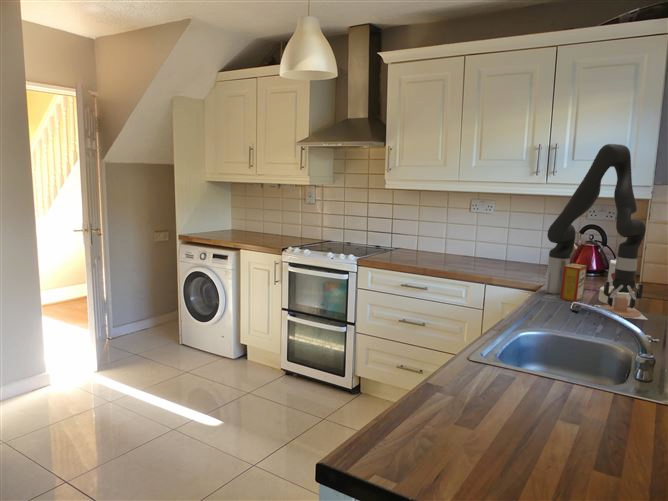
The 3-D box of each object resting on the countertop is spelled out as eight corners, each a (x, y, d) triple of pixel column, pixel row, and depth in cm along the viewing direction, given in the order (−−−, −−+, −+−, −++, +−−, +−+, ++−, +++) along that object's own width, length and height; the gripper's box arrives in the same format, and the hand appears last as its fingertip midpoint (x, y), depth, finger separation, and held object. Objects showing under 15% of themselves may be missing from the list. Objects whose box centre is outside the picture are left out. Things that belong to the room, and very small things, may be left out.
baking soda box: (575, 302, 222) (579, 267, 219) (560, 299, 226) (564, 265, 223) (582, 299, 228) (587, 264, 226) (568, 296, 233) (572, 262, 230)
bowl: (603, 305, 218) (605, 292, 217) (595, 298, 231) (597, 285, 230) (636, 308, 216) (638, 295, 214) (626, 300, 228) (628, 287, 227)
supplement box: (606, 292, 242) (610, 262, 239) (606, 288, 250) (610, 259, 247) (627, 295, 238) (632, 264, 235) (627, 291, 245) (631, 261, 243)
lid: (605, 315, 202) (606, 301, 201) (595, 305, 216) (596, 292, 215) (646, 319, 199) (648, 305, 198) (633, 308, 213) (635, 295, 212)
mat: (603, 316, 202) (604, 315, 202) (593, 306, 217) (593, 304, 217) (647, 321, 198) (648, 319, 198) (634, 309, 213) (634, 308, 213)
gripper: (609, 268, 202) (604, 307, 205) (648, 271, 199) (643, 311, 202) (604, 265, 209) (599, 302, 212) (642, 267, 206) (636, 306, 209)
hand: (620, 306), depth 207 cm, fingers open, 7 cm apart
